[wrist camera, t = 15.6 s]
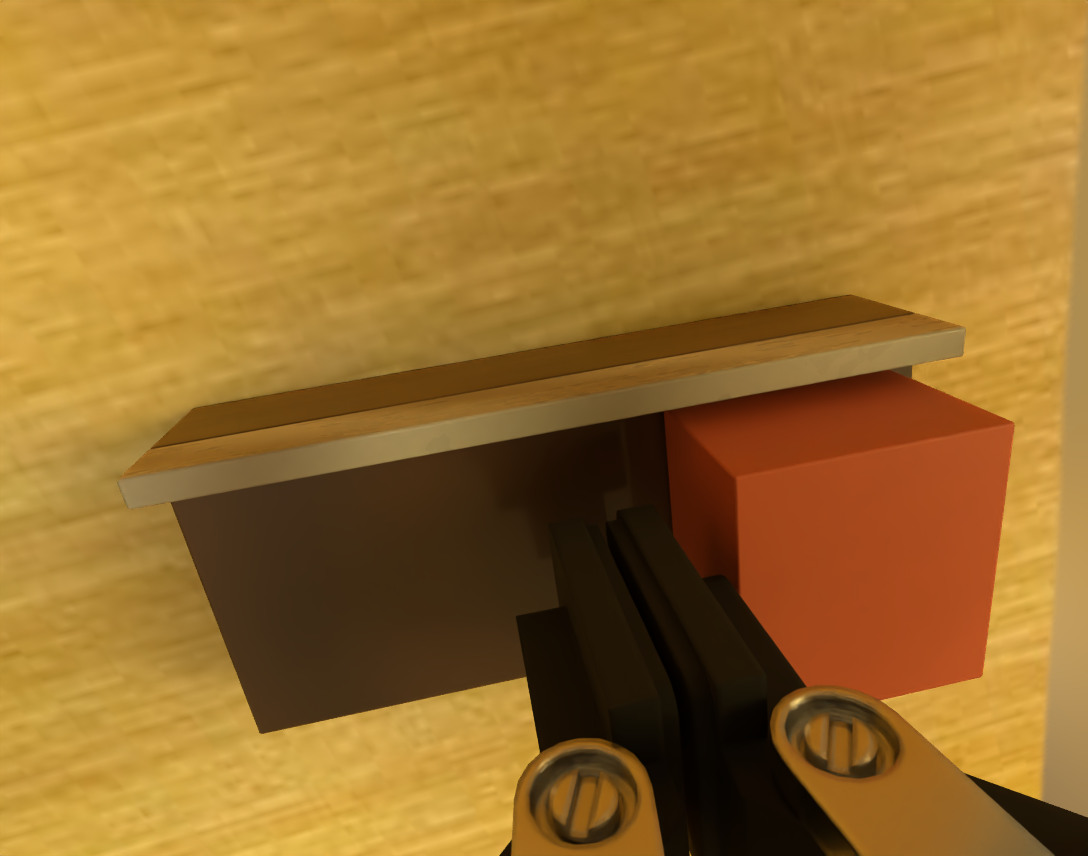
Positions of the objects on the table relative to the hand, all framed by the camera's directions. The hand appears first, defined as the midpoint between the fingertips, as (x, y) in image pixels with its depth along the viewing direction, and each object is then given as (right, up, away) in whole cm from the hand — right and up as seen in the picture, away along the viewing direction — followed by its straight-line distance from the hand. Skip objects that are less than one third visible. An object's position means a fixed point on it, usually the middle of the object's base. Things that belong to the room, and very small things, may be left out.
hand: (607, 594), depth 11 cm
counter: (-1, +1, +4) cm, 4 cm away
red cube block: (+3, +1, +2) cm, 4 cm away
